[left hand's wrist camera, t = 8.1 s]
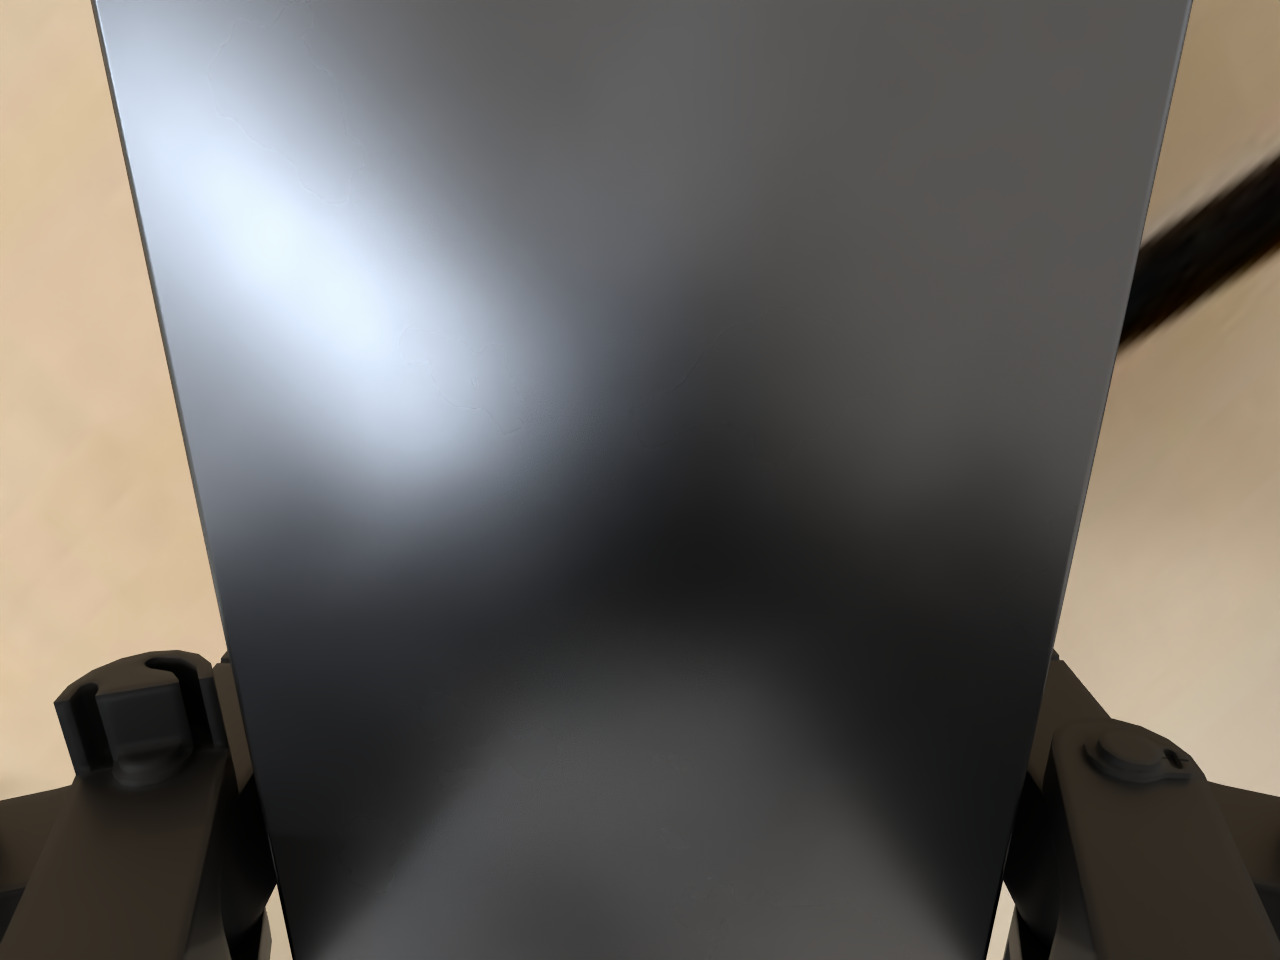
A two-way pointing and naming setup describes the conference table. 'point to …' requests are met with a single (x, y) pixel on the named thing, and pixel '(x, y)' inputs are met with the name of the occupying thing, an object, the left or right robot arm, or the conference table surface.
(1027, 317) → the bar
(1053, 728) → the left robot arm
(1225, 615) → the conference table surface
